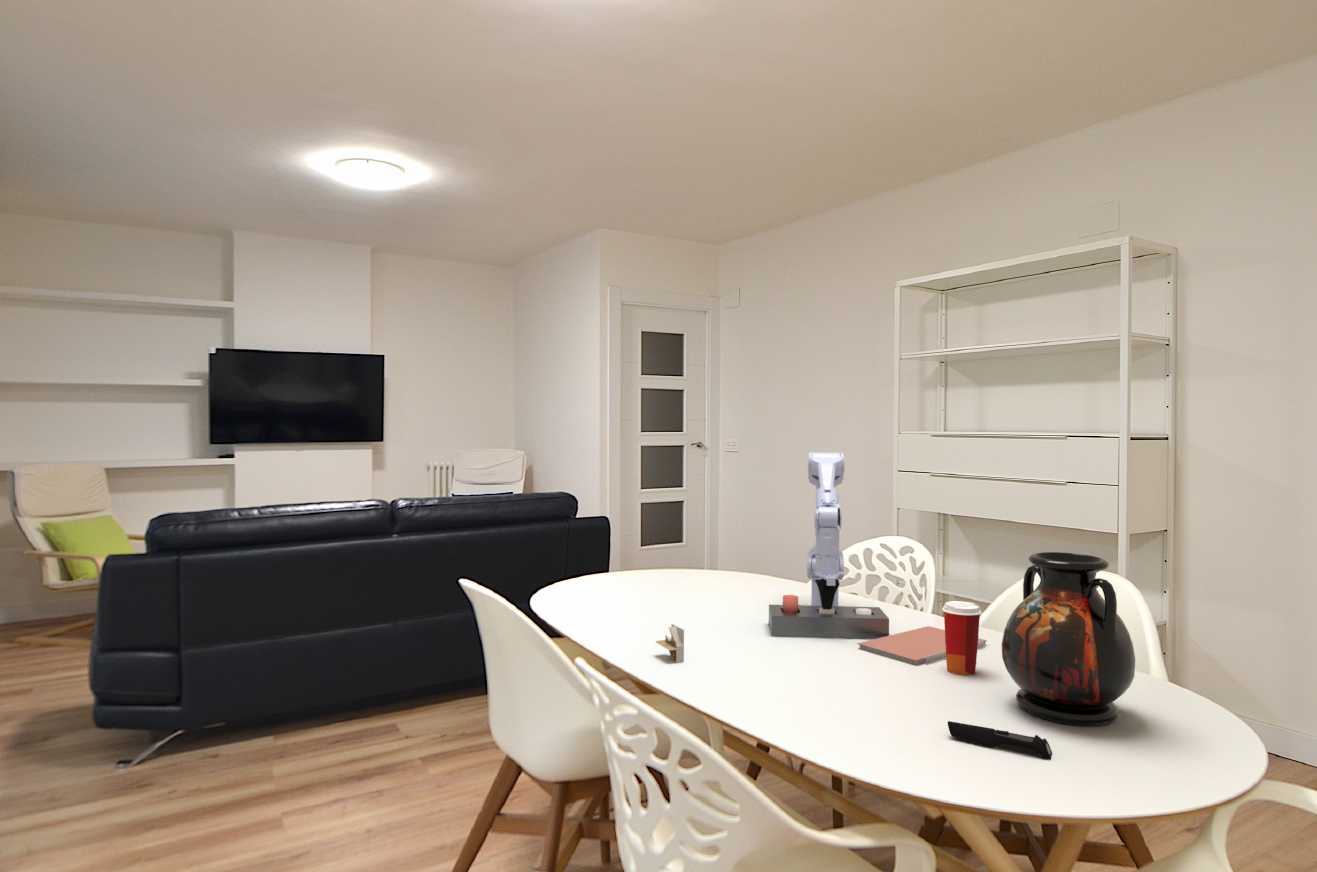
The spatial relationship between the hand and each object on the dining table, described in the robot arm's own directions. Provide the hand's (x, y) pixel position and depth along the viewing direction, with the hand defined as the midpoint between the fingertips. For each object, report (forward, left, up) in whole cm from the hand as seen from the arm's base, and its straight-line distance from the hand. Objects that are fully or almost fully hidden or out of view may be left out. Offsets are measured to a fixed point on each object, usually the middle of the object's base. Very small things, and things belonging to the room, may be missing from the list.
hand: (826, 608), depth 196 cm
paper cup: (+29, +24, -6) cm, 38 cm away
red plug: (0, -9, -2) cm, 9 cm away
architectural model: (+27, -37, -6) cm, 46 cm away
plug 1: (0, 0, -5) cm, 5 cm away
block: (0, 0, -6) cm, 6 cm away
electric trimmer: (+68, +18, -6) cm, 71 cm away
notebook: (+12, +21, -6) cm, 25 cm away
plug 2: (0, +9, -5) cm, 10 cm away
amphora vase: (+51, +36, -6) cm, 63 cm away
